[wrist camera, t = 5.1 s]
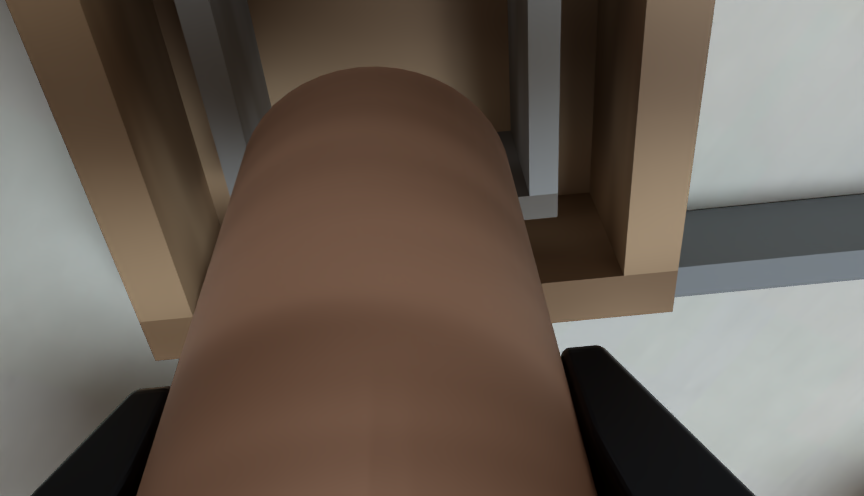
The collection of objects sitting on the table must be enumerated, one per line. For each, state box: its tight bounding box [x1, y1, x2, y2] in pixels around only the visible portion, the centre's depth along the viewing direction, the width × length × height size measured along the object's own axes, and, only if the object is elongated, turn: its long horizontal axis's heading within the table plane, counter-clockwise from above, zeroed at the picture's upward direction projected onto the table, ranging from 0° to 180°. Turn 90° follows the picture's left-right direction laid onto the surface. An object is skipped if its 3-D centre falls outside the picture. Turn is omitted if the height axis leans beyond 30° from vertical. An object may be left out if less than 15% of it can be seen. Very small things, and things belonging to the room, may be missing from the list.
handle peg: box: [136, 66, 598, 496], centre depth 7 cm, size 4×4×10 cm
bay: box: [675, 194, 864, 297], centre depth 16 cm, size 15×27×4 cm, turn 95°
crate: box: [5, 0, 715, 361], centre depth 16 cm, size 12×12×4 cm
